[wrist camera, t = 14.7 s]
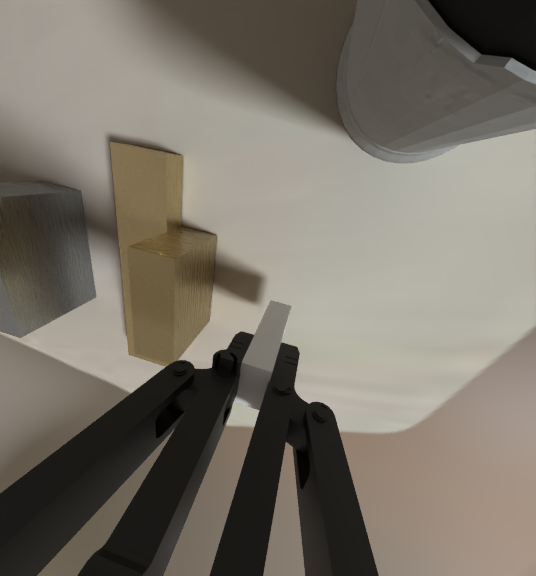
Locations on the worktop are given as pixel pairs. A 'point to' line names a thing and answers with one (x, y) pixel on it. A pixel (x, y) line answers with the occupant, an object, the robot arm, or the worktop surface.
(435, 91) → the grey mug
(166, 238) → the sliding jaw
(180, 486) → the robot arm
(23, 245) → the steel block
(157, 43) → the worktop surface
